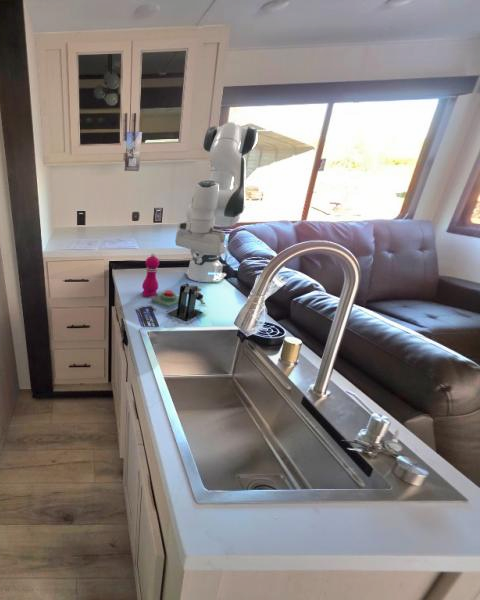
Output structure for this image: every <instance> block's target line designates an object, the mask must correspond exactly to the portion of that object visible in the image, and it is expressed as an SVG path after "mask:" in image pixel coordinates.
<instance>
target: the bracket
mask: <svg viewBox="0 0 480 600" xmlns="http://www.w3.org/2000/svg"><path fill="white" fill-rule="evenodd" d="M186 286H187V287H189V286H190V284H189V283H183V284H182V285H180V286H179V293H178V296H179V301H178V304H177V308H176V309H174V310H172V311H169V312H167V313H166V314H167V315H169V316H171V317H173V318H175V319H178V320H181V321H183V322H185V323H187V322H189V321H191V320H193V319H195V318H197V317H199V316H200V315H202V314H204V312H203V311H200V310H198V309H196V303H197V299H196V296H197V290H198V287H197V286H198V285H197V286H195V287H193V288H190V289H189V294H187V293H185V292H184V289H185V287H186ZM198 291H199V290H198Z"/></svg>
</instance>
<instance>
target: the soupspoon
mask: <svg viewBox="0 0 480 600" xmlns="http://www.w3.org/2000/svg"><path fill="white" fill-rule="evenodd" d="M195 286H197V287H198V290H197V293H200V292H199V291H200V290H202V287H201V286H199V285H196V284H189V287H190V288H193V287H195ZM200 304H201V305H206V302H205V301H204V300H203V298H202V299H201V300H200Z"/></svg>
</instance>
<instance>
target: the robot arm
mask: <svg viewBox="0 0 480 600" xmlns="http://www.w3.org/2000/svg"><path fill="white" fill-rule="evenodd" d="M258 137H259V135H258V130H257V128H256V127H253V126H244V125H240V124H239V123H237V122H233V121H229V122H225V123H223V124H222V125H219V126H218V125H213V126H210V127H209V128H207V129H206V131H205V132H204V135H203V138H202V145H203V146H202V147H203V149H204V151H206V152H208V160H209V164H210V165H211V167H210V171H209V175H208V178H207V180H201V181H199V182H197V183H196V186H195V189H194V194H193V196H192V200H191V203H190V204H189V205H188V206H187V208H186V212H185V215H186V219H187V220H186V221H183V222H179V223H178V224H177V228H178V229H177V231H176V234H175V241H174V242H175V245H176V246H177V247H181V248H185V249H188V250H190V255H191V259H190V261H189V265H188V270H187V271H185V275H186V276H187V278H188V279H190V280H191V281H195V282H200V283H215V284H216V283H220V282H221V281H222V280H224V279H225V277H227V273H226V272H225V271H226V270H227V264H224V263H221V261H220V260H219V257H221V256H222V254H224V252H225V240H226V236H227V235H226V233H225V232H224V231H223V230H222V229H217V228H214V227H219V228H229V227H230V228H231V227H234V226H235V225H236V224H237V223H238V222H239V221H240V217H241V214H243V212H244V210H245V208H246V203H247V197H246V193H245V191H246V158H245V155H248V154H249V153H250V152H252V151H253V149H254V148H255V146H256V144H257V142H258Z"/></svg>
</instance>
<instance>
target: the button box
mask: <svg viewBox="0 0 480 600" xmlns="http://www.w3.org/2000/svg"><path fill="white" fill-rule="evenodd" d="M164 294H165V291H164V292H161V293H160V294H159V295H158V296H157V295H156V296H155V297H152V298H151V302H153V303H156V304H158V305H161V306H163V307H166V308H169V309H170V308H172V307H174V306H176V305H178V301H179V295H177V294H176V293H174V292H173V296H172V297H168V296H165V295H164Z"/></svg>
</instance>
